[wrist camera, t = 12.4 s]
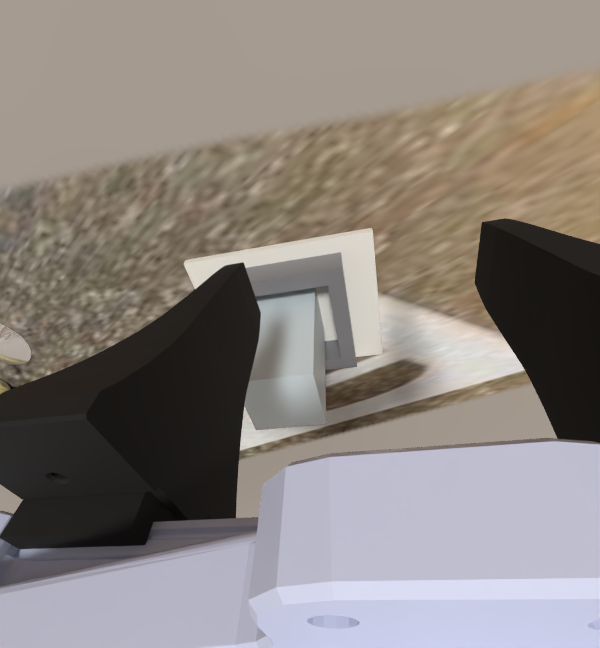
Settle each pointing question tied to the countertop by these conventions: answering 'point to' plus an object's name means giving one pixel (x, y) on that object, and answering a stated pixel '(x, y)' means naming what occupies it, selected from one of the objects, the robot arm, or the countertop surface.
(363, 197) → the countertop surface
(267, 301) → the block
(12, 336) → the wineglass
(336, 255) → the dock
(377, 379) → the countertop surface
